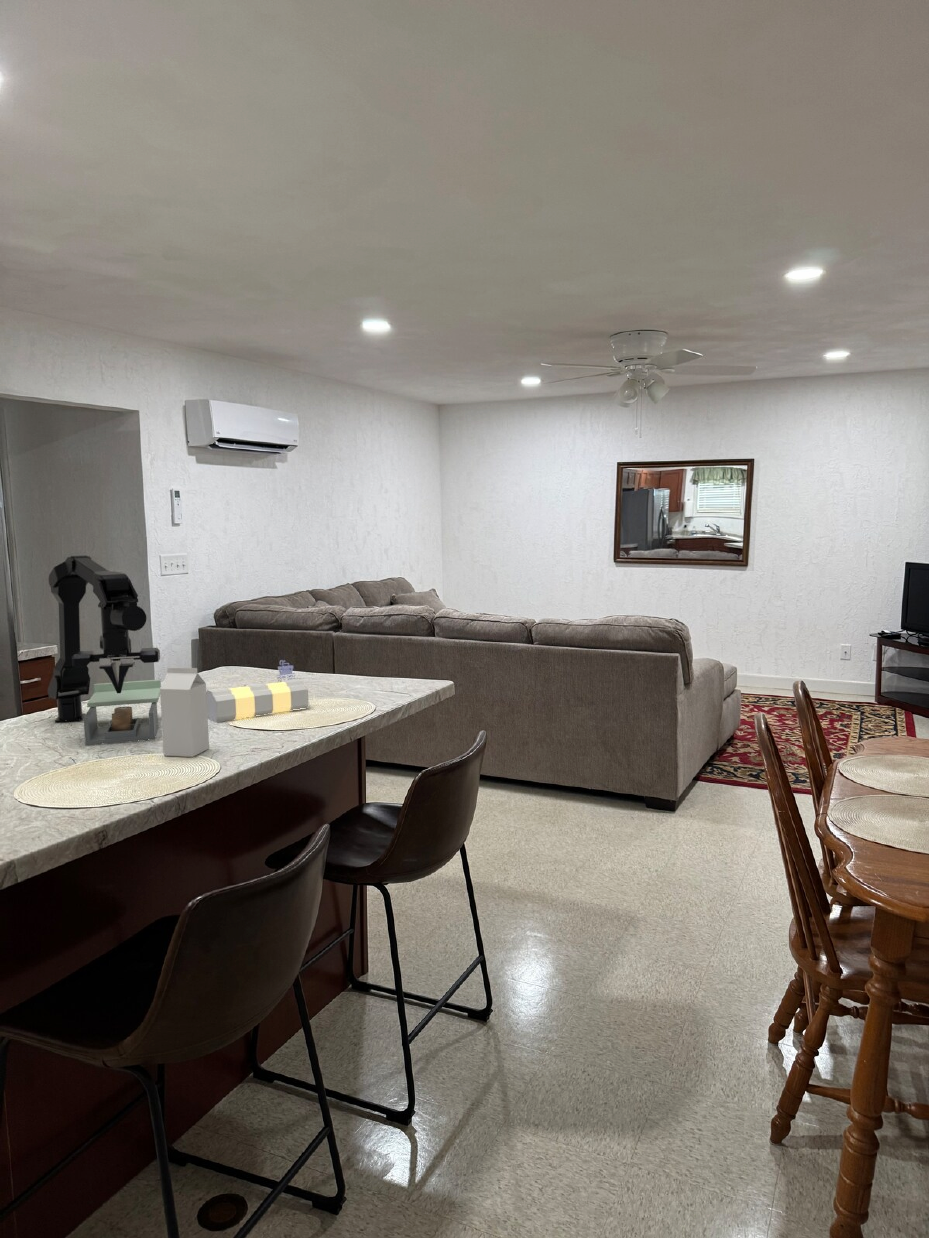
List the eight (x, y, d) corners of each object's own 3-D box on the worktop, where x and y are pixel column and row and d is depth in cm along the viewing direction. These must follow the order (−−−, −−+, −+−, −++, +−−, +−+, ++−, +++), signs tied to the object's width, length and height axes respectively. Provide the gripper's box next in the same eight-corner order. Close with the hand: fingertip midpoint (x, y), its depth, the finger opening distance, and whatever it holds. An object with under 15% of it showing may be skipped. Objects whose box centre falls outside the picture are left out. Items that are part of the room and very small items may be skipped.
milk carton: (193, 757, 182) (188, 671, 179) (163, 756, 183) (158, 670, 181) (209, 748, 189) (205, 665, 186) (180, 747, 190) (176, 664, 188)
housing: (93, 731, 206) (91, 705, 206) (158, 726, 211) (156, 700, 210) (85, 745, 193) (83, 717, 192) (154, 739, 197) (153, 712, 197)
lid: (95, 695, 216) (94, 683, 216) (161, 690, 221) (160, 679, 221) (87, 707, 202) (86, 695, 202) (157, 702, 207) (157, 690, 206)
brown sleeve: (111, 736, 196) (110, 715, 196) (113, 732, 200) (112, 712, 200) (130, 735, 198) (129, 714, 197) (131, 731, 201) (130, 711, 201)
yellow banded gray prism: (294, 704, 235) (292, 658, 234) (309, 710, 227) (307, 663, 225) (204, 717, 221) (202, 668, 220) (217, 724, 213) (214, 673, 211)
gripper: (160, 621, 207) (163, 684, 208) (78, 625, 202) (82, 689, 204) (156, 627, 196) (159, 692, 198) (69, 631, 191) (73, 698, 193)
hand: (119, 692), depth 198 cm, fingers closed
